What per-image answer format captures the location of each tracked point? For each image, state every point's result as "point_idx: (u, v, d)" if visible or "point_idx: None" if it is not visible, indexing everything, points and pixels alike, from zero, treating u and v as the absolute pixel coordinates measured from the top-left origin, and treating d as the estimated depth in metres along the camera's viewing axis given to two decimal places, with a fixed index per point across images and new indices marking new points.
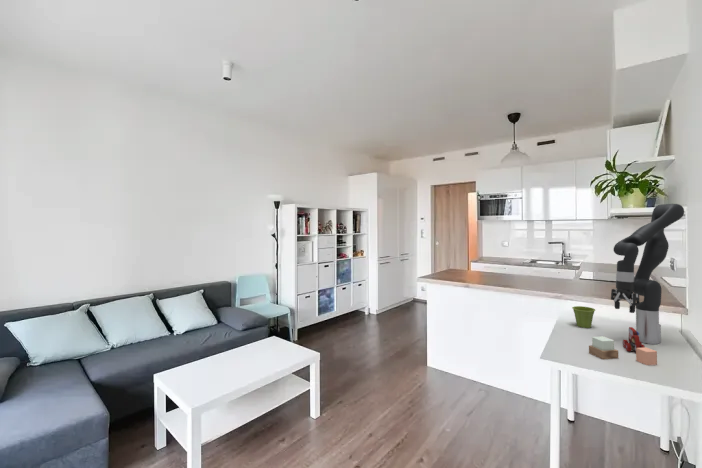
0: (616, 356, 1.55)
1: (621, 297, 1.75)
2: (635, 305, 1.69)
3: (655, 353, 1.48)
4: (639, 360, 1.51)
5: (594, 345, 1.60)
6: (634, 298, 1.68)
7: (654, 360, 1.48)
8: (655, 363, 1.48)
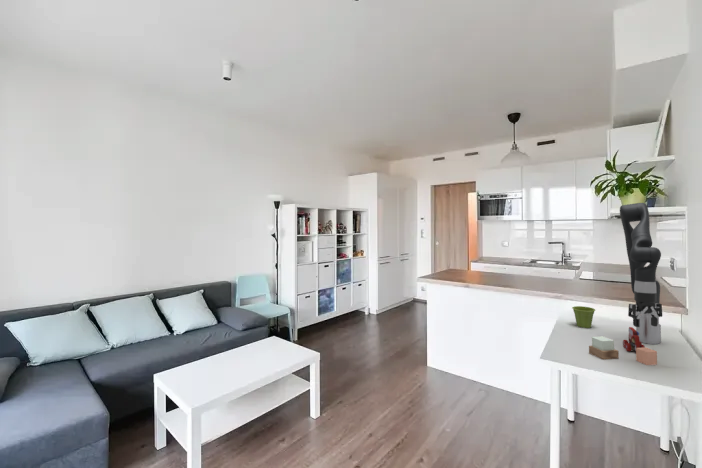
0: (616, 356, 1.55)
1: (645, 312, 1.49)
2: None
3: (655, 353, 1.48)
4: (639, 360, 1.51)
5: (594, 345, 1.61)
6: (661, 309, 1.49)
7: (654, 360, 1.48)
8: (655, 363, 1.48)
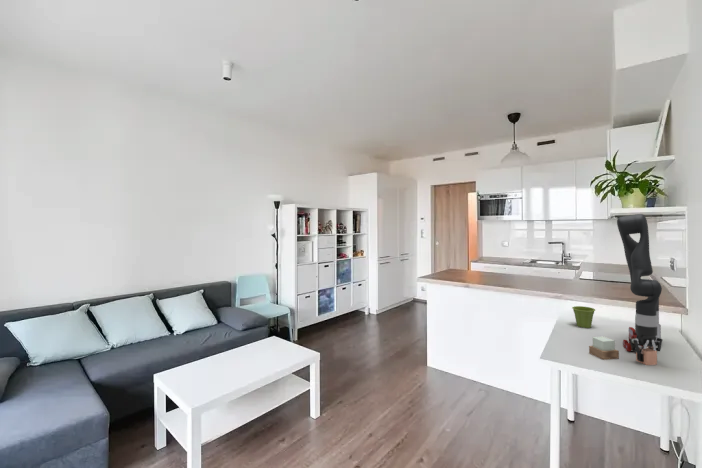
0: (616, 356, 1.55)
1: (648, 344, 1.49)
2: None
3: (655, 353, 1.48)
4: None
5: (594, 345, 1.60)
6: (660, 344, 1.49)
7: (654, 360, 1.48)
8: (655, 363, 1.48)
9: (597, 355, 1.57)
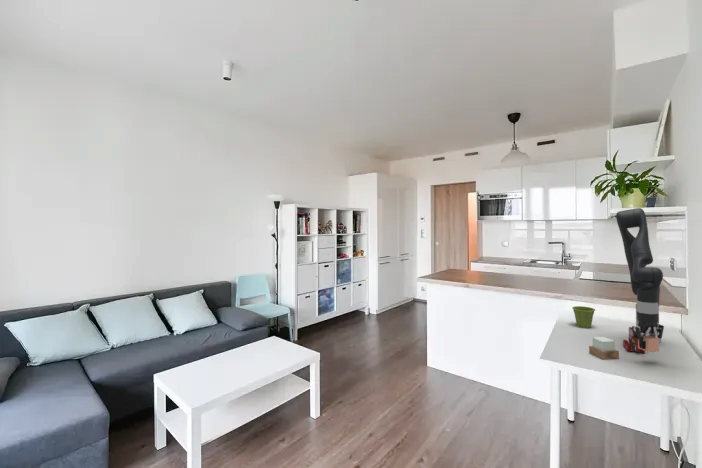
0: (616, 356, 1.55)
1: (649, 331, 1.49)
2: None
3: (657, 340, 1.47)
4: None
5: (594, 345, 1.60)
6: (662, 330, 1.49)
7: (656, 347, 1.47)
8: (657, 350, 1.48)
9: (597, 355, 1.57)
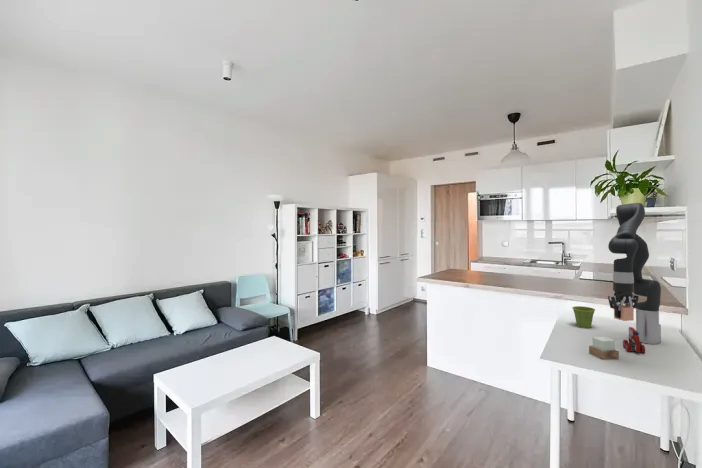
0: (616, 356, 1.55)
1: (625, 301, 1.53)
2: None
3: (632, 309, 1.52)
4: None
5: (594, 345, 1.60)
6: (636, 301, 1.53)
7: (631, 316, 1.52)
8: (632, 319, 1.52)
9: (597, 355, 1.57)
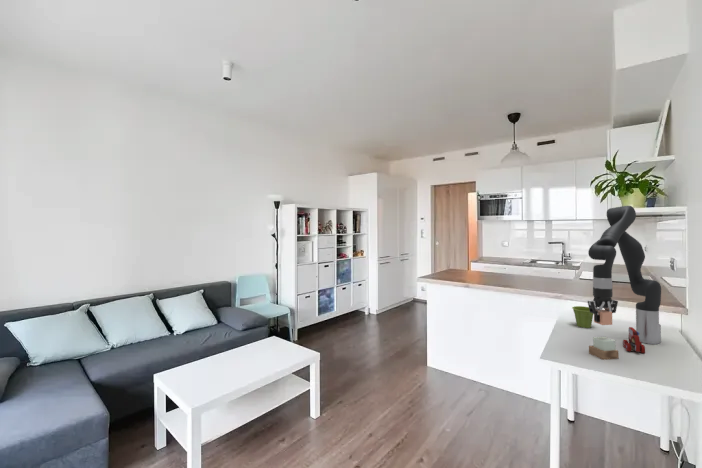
0: (616, 356, 1.55)
1: (604, 306, 1.58)
2: None
3: (610, 314, 1.56)
4: None
5: (595, 345, 1.60)
6: (616, 305, 1.58)
7: (609, 320, 1.56)
8: (610, 323, 1.56)
9: (597, 355, 1.58)
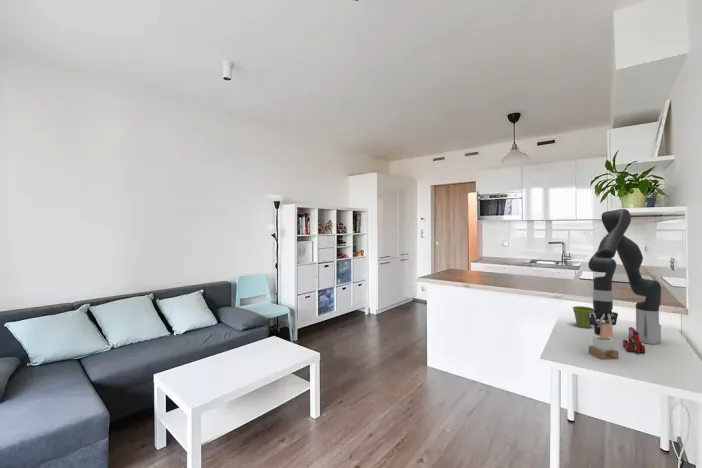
0: (616, 356, 1.55)
1: (604, 318, 1.58)
2: None
3: (611, 326, 1.56)
4: None
5: (594, 345, 1.60)
6: (616, 318, 1.58)
7: (610, 333, 1.57)
8: (611, 335, 1.57)
9: (597, 355, 1.58)
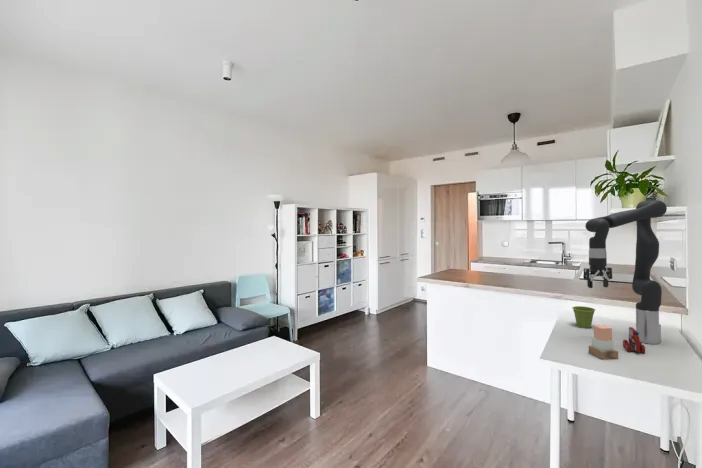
0: (616, 357, 1.55)
1: (598, 274, 1.72)
2: None
3: (610, 330, 1.56)
4: (596, 337, 1.59)
5: (593, 345, 1.60)
6: (611, 272, 1.73)
7: (609, 336, 1.56)
8: (610, 339, 1.56)
9: (596, 355, 1.57)
